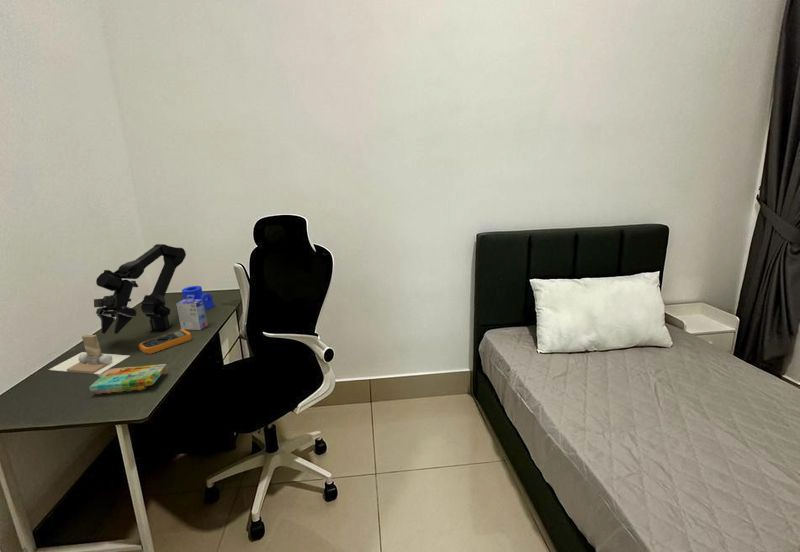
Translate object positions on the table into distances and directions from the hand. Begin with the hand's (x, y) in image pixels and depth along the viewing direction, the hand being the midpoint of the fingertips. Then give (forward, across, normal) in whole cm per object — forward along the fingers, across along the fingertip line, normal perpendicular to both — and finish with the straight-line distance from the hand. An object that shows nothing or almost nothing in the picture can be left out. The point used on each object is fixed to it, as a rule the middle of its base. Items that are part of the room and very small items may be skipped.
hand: (109, 333), depth 178 cm
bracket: (-25, -16, +45) cm, 54 cm away
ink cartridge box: (-10, +7, +30) cm, 33 cm away
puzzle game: (+18, +28, -1) cm, 33 cm away
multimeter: (+1, +10, +18) cm, 21 cm away
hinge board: (+12, -1, -2) cm, 13 cm away
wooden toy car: (+12, +2, -2) cm, 12 cm away
